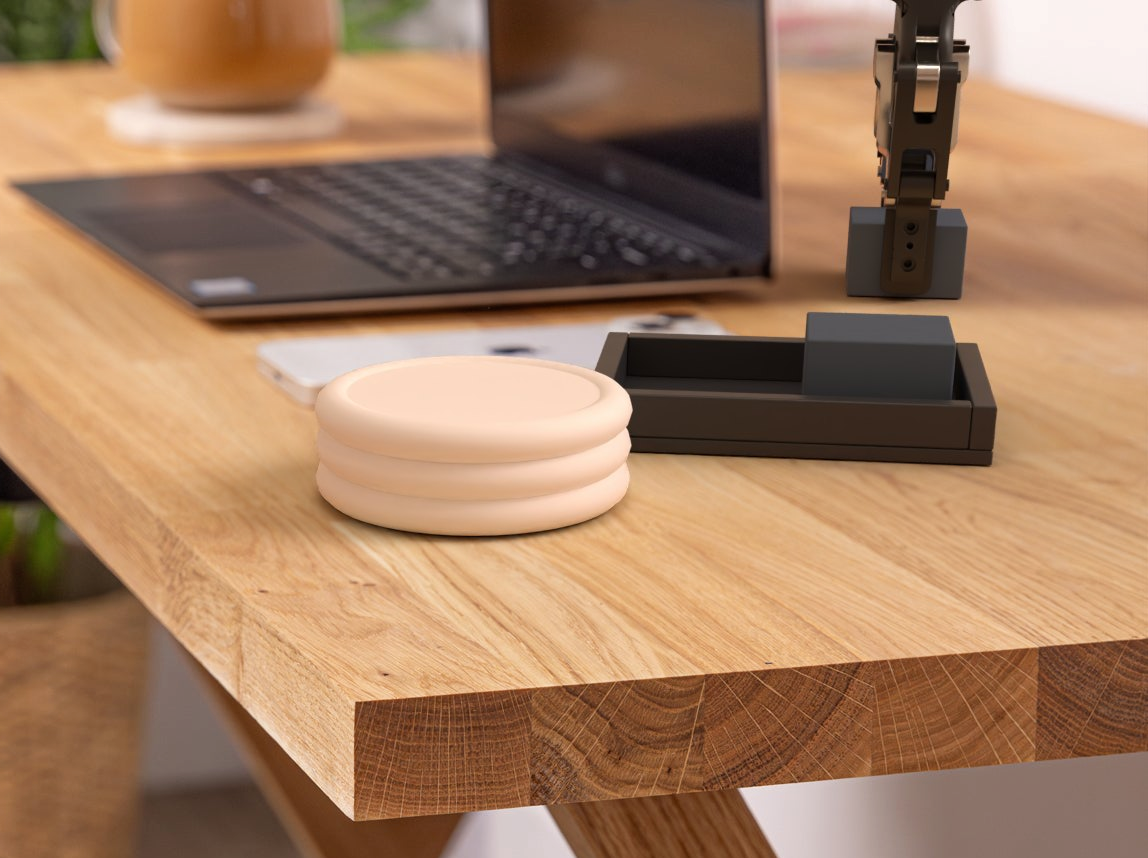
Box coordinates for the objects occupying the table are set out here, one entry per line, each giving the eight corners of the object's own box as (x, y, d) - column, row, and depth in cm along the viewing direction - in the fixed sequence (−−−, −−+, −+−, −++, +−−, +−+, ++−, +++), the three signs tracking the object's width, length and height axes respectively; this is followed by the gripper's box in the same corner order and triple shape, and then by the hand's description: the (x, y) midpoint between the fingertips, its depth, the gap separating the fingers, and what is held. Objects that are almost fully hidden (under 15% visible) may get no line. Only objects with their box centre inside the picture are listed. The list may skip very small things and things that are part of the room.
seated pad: (941, 397, 82) (948, 315, 80) (948, 430, 77) (957, 343, 76) (801, 392, 82) (806, 311, 81) (801, 424, 78) (807, 339, 77)
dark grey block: (955, 278, 104) (961, 208, 103) (961, 299, 100) (968, 226, 99) (845, 275, 105) (850, 206, 104) (846, 295, 101) (851, 223, 99)
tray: (972, 396, 84) (977, 342, 83) (992, 465, 75) (997, 406, 74) (606, 383, 86) (608, 331, 85) (584, 449, 77) (585, 392, 76)
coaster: (545, 440, 78) (547, 340, 77) (685, 518, 70) (690, 407, 68) (273, 472, 75) (270, 367, 73) (386, 558, 66) (385, 441, 65)
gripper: (1042, -116, 89) (999, 317, 95) (1012, -127, 102) (976, 254, 108) (848, -116, 90) (819, 312, 96) (842, -127, 103) (817, 250, 109)
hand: (902, 279), depth 102 cm, fingers closed on dark grey block, 4 cm apart
